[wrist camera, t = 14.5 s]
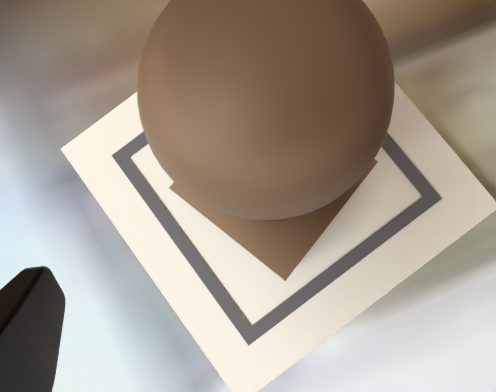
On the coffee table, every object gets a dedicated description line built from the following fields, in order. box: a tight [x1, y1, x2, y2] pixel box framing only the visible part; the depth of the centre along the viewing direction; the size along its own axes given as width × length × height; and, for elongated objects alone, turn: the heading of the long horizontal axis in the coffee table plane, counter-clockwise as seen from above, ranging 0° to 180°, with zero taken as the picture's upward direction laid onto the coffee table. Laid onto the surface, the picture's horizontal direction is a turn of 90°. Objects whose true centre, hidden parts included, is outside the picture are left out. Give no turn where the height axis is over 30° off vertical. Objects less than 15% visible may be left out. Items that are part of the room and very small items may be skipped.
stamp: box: [137, 0, 395, 281], centre depth 11 cm, size 5×5×13 cm
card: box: [61, 82, 496, 392], centre depth 18 cm, size 12×12×1 cm
